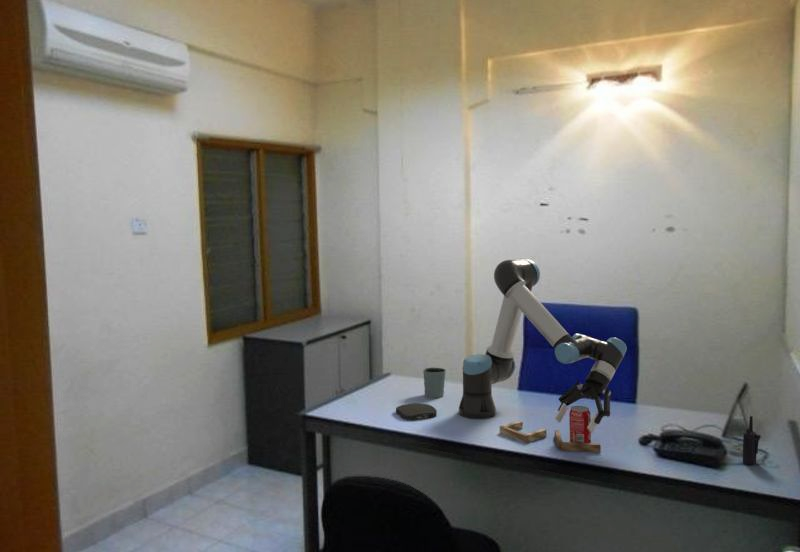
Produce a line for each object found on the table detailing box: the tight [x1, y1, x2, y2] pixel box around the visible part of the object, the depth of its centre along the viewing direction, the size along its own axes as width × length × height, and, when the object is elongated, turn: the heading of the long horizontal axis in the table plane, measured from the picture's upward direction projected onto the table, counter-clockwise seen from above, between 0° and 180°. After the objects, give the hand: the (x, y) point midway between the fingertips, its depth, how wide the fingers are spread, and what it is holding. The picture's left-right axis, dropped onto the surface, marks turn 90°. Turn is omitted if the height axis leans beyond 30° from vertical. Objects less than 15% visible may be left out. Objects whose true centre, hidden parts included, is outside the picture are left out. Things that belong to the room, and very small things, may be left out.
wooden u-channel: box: [499, 420, 547, 444], centre depth 221 cm, size 11×13×2 cm
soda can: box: [569, 405, 592, 443], centre depth 210 cm, size 7×7×13 cm
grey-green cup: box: [422, 367, 447, 399], centre depth 274 cm, size 10×10×12 cm
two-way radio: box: [742, 415, 762, 465], centre depth 192 cm, size 6×4×15 cm
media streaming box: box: [395, 402, 438, 421], centre depth 247 cm, size 15×15×3 cm
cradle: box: [554, 429, 602, 453], centre depth 208 cm, size 10×20×2 cm, turn 36°
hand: (573, 425), depth 209 cm, fingers open, 13 cm apart
